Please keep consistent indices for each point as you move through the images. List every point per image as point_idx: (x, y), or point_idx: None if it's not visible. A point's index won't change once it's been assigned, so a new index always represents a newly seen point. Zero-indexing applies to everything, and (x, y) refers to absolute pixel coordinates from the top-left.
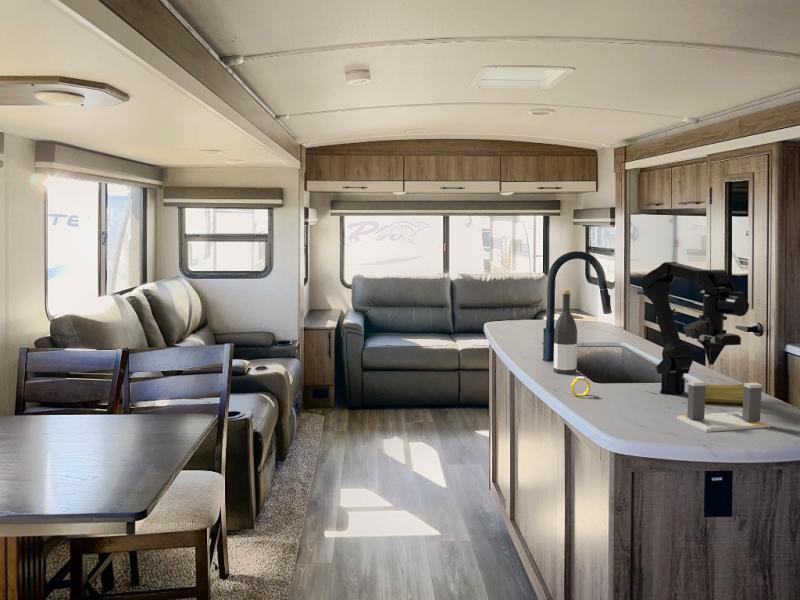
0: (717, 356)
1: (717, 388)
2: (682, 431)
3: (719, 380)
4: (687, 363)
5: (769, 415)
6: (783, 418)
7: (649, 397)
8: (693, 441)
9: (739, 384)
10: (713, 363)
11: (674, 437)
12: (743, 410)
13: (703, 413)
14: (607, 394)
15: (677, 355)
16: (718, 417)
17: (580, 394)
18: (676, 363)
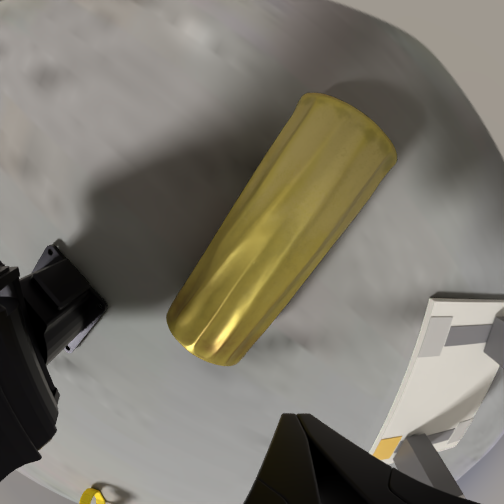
0: (364, 458)
1: (291, 285)
2: None
3: (6, 23)
4: (20, 352)
5: (470, 197)
6: (498, 187)
7: (120, 412)
8: (458, 467)
9: (328, 140)
10: (312, 421)
11: None
12: (500, 363)
13: (429, 444)
14: (85, 460)
15: (21, 453)
16: (435, 393)
17: (96, 495)
18: (54, 433)
